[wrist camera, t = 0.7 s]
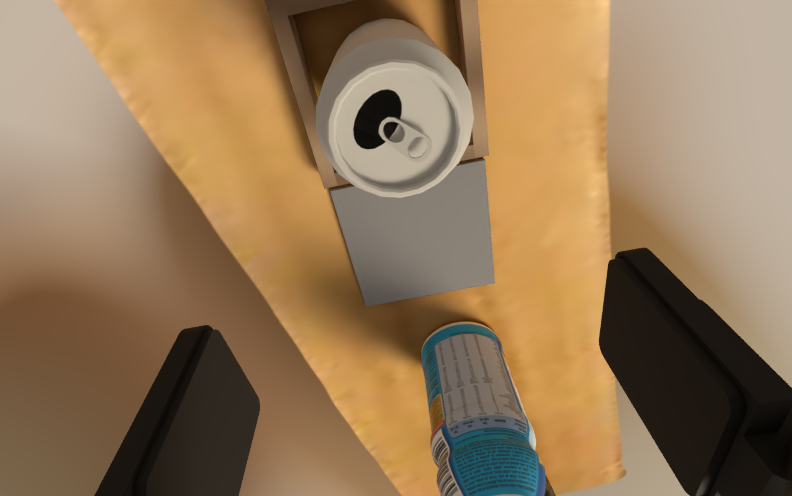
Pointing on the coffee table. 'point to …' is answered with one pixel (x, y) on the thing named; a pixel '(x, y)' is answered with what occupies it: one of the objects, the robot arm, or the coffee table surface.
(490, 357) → the beverage bottle
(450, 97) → the can
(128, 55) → the coffee table surface
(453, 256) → the mat
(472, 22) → the wooden picture frame
